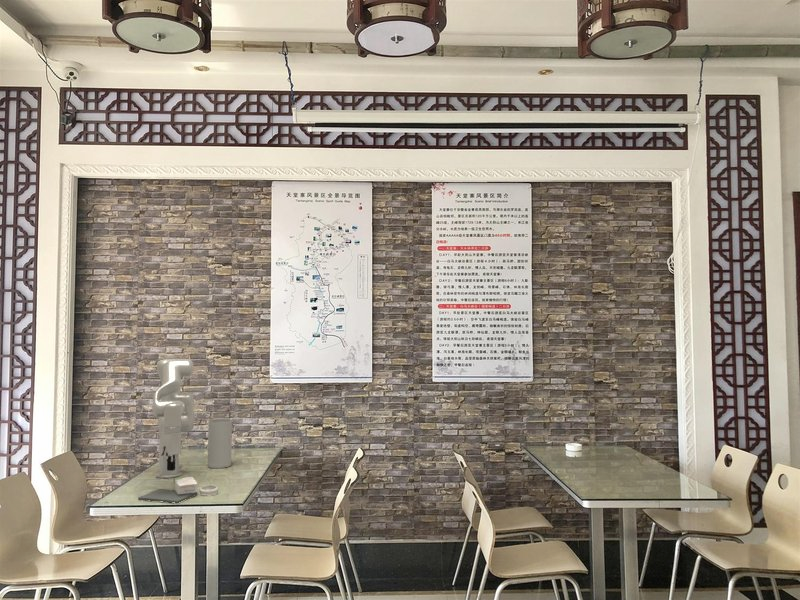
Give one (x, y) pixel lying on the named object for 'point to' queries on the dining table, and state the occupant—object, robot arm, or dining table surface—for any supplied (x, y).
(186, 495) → the rubber mat
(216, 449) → the cylinder vase
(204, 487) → the white ashtray dish
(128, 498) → the dining table surface
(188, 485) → the ink box
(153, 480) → the dining table surface
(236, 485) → the dining table surface
